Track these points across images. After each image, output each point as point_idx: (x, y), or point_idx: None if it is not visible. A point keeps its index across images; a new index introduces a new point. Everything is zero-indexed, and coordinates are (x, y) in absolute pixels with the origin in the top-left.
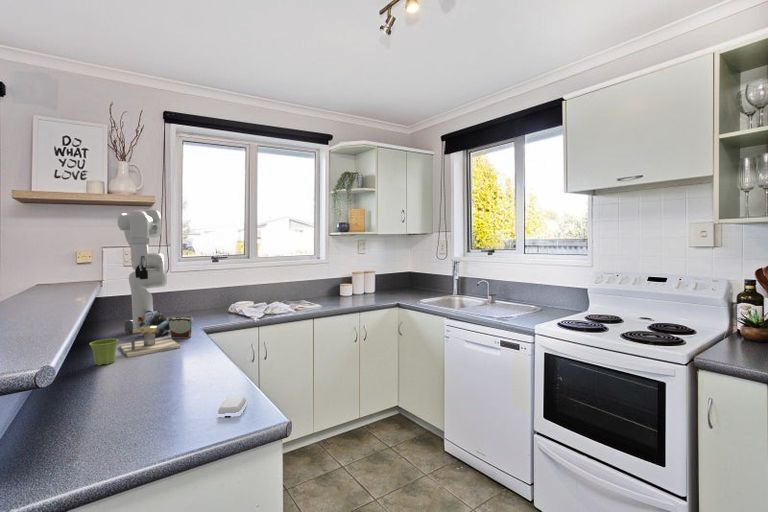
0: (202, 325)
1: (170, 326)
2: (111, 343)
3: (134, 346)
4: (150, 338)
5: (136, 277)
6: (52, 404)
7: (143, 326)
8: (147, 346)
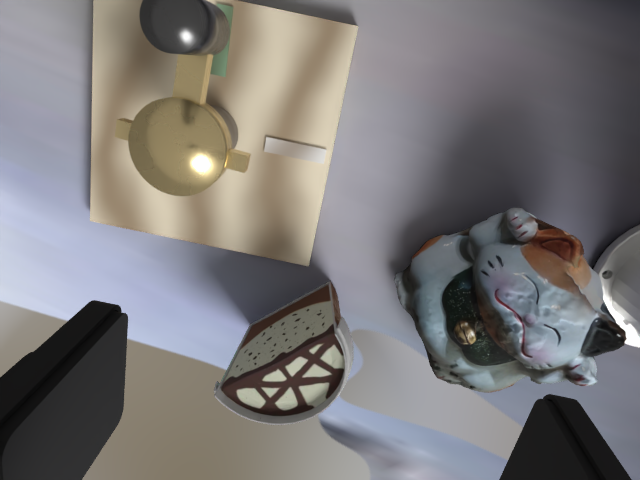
0: (452, 474)
1: (330, 310)
2: None
3: None
4: None
5: (552, 403)
6: None
7: (489, 226)
8: None
